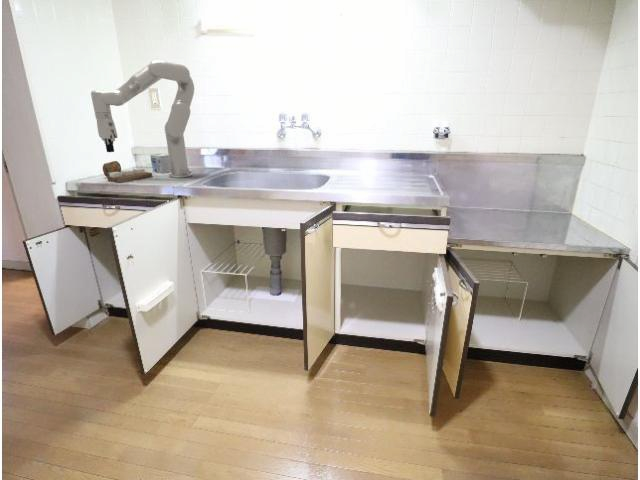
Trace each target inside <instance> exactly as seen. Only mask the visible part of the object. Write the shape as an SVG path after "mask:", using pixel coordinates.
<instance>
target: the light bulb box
mask: <svg viewBox="0 0 640 480" xmlns="http://www.w3.org/2000/svg"><path fill="white" fill-rule="evenodd" d="M150 161H151V168H152V172H154V173H158V174H168V173H171V167H170V161H169V154H167V153H166V154H164V153H155V154H150Z"/></svg>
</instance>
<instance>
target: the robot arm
mask: <svg viewBox="0 0 640 480" xmlns="http://www.w3.org/2000/svg"><path fill="white" fill-rule="evenodd" d="M162 79H163V80H164V79H165V80H170V81H174V82H176V83H177V91H176V94H175V97H174V100H173V103H172V105H171V107H170V113H169V116H168V118H167V121H166V122H165V124H164V134H165V138H166V144H167V145H166V146H167V153H168V154H167V155H169V161H170V167H171V172H170V174H168V177H169V178H174V179H178V178H179V179H182V178H189V177H190V176H191V177H192V171H191V170H190V168H189V167H188V158H187V157H188V156H187V151H186V143H185V136H184V133H185V131H186V127H187V125H188V122H189V120H190V116H191V104H192V102H193V98H194V94H195V84H194V80H193V79H192V77H191V73H190V70H189V68H187V67H186V65H183V64H180V63H175V62H169V61H165V60H161V59H160V60H159V59H154V60H151V61H150V62H149V64H147V65H146V66H145V67H143V68H141V69H140V70H139V71H137V72H135V74H133V75H132V76H131V77H130V78H129V79H128V80H127V81H126V82H124V84H122V85H121V86H119V87H118V88H116V89H115V90H106V91H105V90H92V91H90V96H91V101H92V102H91V103H92V107H93V110H94V116H95V120H96V125H97V127H96V128H97V133H98V136H99V138H100V139H101V141H103V143H104V145H105V149H106V152H107V153H114V152H115V149H114V142H115V141H116V139H118V132H117V128H116V125H115V122H114V119H113V115H112V109H111V106H115V107H120V106H123V105H125V104H126V103H128V102H129V101H130V100H132V99H133V98H134V97H136V96H138V95H139V94H141V93H143V92H144V91H146V90H148V89H149V88H150V87H151V86H153V85H155V84H156V83H158V82H159V81H160V80H162Z"/></svg>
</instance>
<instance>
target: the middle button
mask: <svg viewBox="0 0 640 480" xmlns="http://www.w3.org/2000/svg"><path fill="white" fill-rule="evenodd" d="M121 173H122V175H132V174H134V173H133V169H131V170H130V169H126V170H121Z"/></svg>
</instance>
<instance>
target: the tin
mask: <svg viewBox="0 0 640 480" xmlns="http://www.w3.org/2000/svg"><path fill="white" fill-rule="evenodd" d="M121 171H122V166H121V164H120V162H119V161H117V160H114V161H113V160H112V161H110V162H106V163H104V164H103V165H102V172H103V175H104V176H105V177H106V178H107V177H108V176H110V175H109V173H112V172H121Z"/></svg>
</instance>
